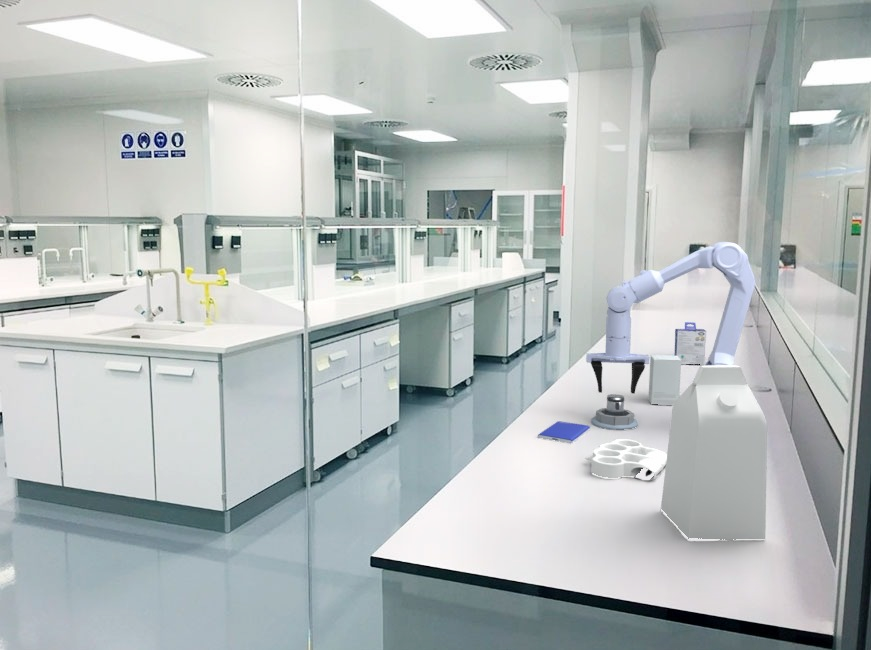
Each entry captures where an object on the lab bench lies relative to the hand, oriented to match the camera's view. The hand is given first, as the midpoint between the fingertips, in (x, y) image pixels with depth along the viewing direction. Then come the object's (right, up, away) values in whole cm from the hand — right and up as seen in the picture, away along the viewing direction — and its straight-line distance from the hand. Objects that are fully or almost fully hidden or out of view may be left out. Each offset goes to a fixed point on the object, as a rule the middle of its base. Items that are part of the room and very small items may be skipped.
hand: (616, 392), depth 169 cm
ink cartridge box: (+46, +2, +77) cm, 90 cm away
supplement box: (+19, -5, +22) cm, 29 cm away
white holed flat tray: (-6, -13, -29) cm, 32 cm away
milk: (0, -16, -57) cm, 59 cm away
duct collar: (0, -8, +1) cm, 8 cm away
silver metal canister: (0, -7, +1) cm, 7 cm away
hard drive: (-14, -10, -7) cm, 18 cm away
